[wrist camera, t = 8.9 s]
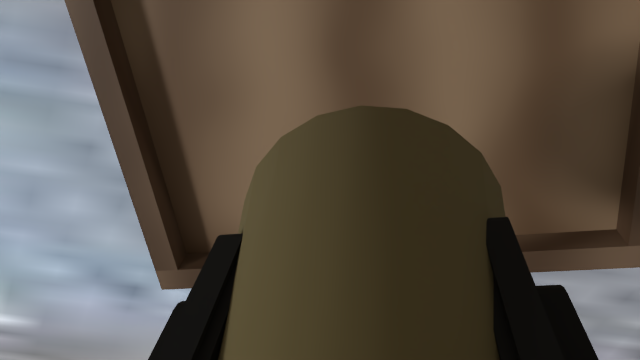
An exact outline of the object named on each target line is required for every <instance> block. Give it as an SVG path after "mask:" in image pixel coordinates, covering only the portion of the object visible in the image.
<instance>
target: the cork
mask: <svg viewBox="0 0 640 360" xmlns="http://www.w3.org/2000/svg"><path fill="white" fill-rule="evenodd" d="M495 217H506V216H505V210H504V203H503V196H502V190H501V186H500V184H499V182H498V181H497V179H496V177H495V175H494V174H493V172H492V170H491V168H490V167H489V165H488V163H487V162H486V160H485V158H484V156H483V155H482V153H481V152H480V151H479V150H478V149H476V148H475V147H474V146H473V145H472V144H470V143H469V142H468V141H467V140H466V139H464V138H463V137H462V136H461V135H460V134H458V133H457V132H456V131H455V130H454V129H452V128H451V127H450V126H449V125H447V124H444V123H441V122H439V121H436V120H434V119H431V118H429V117H426V116H424V115H421V114H419V113H416V112H414V111H411V110H408V109H403V108H389V107H375V106H362V105H360V106H356V107H352V108H347V109H343V110H339V111H334V112H330V113H326V114H321V115H317V116H315V117H314V118H312V119H310V120H309V121H307V122H305V123H304V124H302V125H300V126H299V127H297V128H295V129H293V130H292V131H290V132H288V133H287V134H285V135H283V136H282V137H281V138H280V139H279V140H278V141H277V142H276V144H275V145H274V146H273V147H272V148H271V149H270V151H269V152H268V153H267V154H266V155H265V157H264V158H263V159H262V160H261V161H260V163H259V164H258V165H257V166H256V169H255V172H254V174H253V177H252V180H251V183H250V186H249V189H248V192H247V194H246V197H245V200H244V205H243V210H242V216H241V221H240V226H239V231H238V234H241V233H243V237H242V241H241V246H240V250H239V254H238V260H237V266H236V272H235V277H234V283H233V289H232V295H231V301H230V307H229V311H228V316H227V320H226V325H225V329H224V334H223V338H222V343H221V348H220V352H219V357H218V360H500V358H499V353H498V349H497V344H496V339H495V335H494V330H493V296H494V275H493V271H492V267H491V263H490V259H489V255H488V250H487V246H486V222H487V219H488V218H495Z"/></svg>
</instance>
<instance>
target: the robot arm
mask: <svg viewBox="0 0 640 360" xmlns="http://www.w3.org/2000/svg"><path fill="white" fill-rule="evenodd" d="M242 237H243V233H241V234H226V235H219V236H218V237H217V238H216V240H215V242H214V245H213V247H212V249H211V251H210V253H209V255H208V257H207V259H206V261H205V263H204V265H203V267H202V269H201V271H200V273H199V275H198V277H197V279H196V281H195V283H194V285H193V287H192V289H191V291H190V293H189V295H188V297H187V300H186V301H182V302H180V303H178V304H177V305H176V307H175V308H174V310H173V312H172V314H171V316H170V318H169V320H168V322H167V324H166V326H165V328H164V330H163V331H162V333H161V335H160V337H159V339H158V341H157V343H156V345H155V347H154V349H153V351H152V353H151V355H150V357H149V359H148V360H218V357H219V352H220V348H221V343H222V338H223V334H224V329H225V325H226V320H227V316H228V311H229V307H230V301H231V295H232V289H233V283H234V277H235V272H236V266H237V260H238V254H239V250H240V246H241V241H242ZM486 246H487V250H488V255H489V259H490V263H491V267H492V271H493V275H494V296H493V330H494V335H495V339H496V344H497V349H498V353H499V358H500V360H598V358H597V355H596V353H595V351H594V349H593V347H592V345H591V343H590V340H589V338H588V336H587V334H586V332H585V330H584V328H583V325H582V323H581V321H580V319H579V317H578V315H577V313H576V310H575V308H574V306H573V304H572V302H571V300H570V298H569V295H568V293H567V292H566V290H565V288H564V287H563V286H561V285H546V286H535V283H534V281H533V278H532V276H531V273H530V271H529V268H528V266H527V263H526V260H525V258H524V255H523V253H522V250H521V248H520V245H519V243H518V240H517V238H516V235H515V232H514V230H513V227H512V225H511V222H510V220H509V218H508V217H495V218H488V219H487V222H486Z"/></svg>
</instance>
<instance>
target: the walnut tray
mask: <svg viewBox="0 0 640 360" xmlns="http://www.w3.org/2000/svg"><path fill="white" fill-rule="evenodd" d="M65 3H66V6H67V9H68V12H69V15H70V18H71V21H72V24H73V27H74V30H75V33H76V36H77V39H78V42H79V45H80V47H81V50H82V53H83V56H84V59H85V62H86V65H87V68H88V71H89V74H90V77H91V80H92V83H93V86H94V89H95V92H96V95H97V98H98V101H99V104H100V107H101V110H102V113H103V116H104V119H105V122H106V125H107V128H108V131H109V134H110V137H111V140H112V143H113V146H114V149H115V152H116V155H117V158H118V161H119V163H120V166H121V169H122V172H123V175H124V178H125V181H126V184H127V187H128V190H129V193H130V196H131V199H132V202H133V205H134V208H135V211H136V214H137V217H138V220H139V223H140V226H141V229H142V232H143V235H144V238H145V241H146V244H147V247H148V250H149V253H150V256H151V259H152V262H153V265H154V268H155V271H156V274H157V277H158V279H159V282H160V285H161V288H162V290H163V289H185V288H192V287H193V285H194V283H195V281H196V279H197V277H198V275H199V273H200V271H201V269H202V267H203V265H204V263H205V261H206V259H207V257H208V255H209V253H210V251H211V249H212V247H213V245H214V242H215V240H216V238H217V237H218V236H219V235H226V234H238V231H239V226H240V221H241V216H242V210H243V205H244V200H245V197H246V194H247V192H248V189H249V186H250V183H251V180H252V177H253V174H254V172H255V169H256V166H257V165H258V164H259V163H260V161H261V160H262V159H263V158H264V157H265V155H266V154H267V153H268V152H269V151H270V149H271V148H272V147H273V146H274V145H275V144H276V142H277V141H278V140H279V139H280V138H281V137H282V136H283V135H285V134H287V133H288V132H290V131H292V130H293V129H295V128H297V127H299V126H300V125H302V124H304V123H305V122H307V121H309V120H310V119H312V118H314V117H315V116H317V115H321V114H326V113H330V112H334V111H339V110H343V109H347V108H352V107H356V106H360V105H362V106H375V107H389V108H403V109H408V110H411V111H414V112H416V113H419V114H421V115H424V116H426V117H429V118H431V119H434V120H436V121H439V122H441V123H444V124H447V125H449V126H450V127H451V128H452V129H454V130H455V131H456V132H457V133H458V134H460V135H461V136H462V137H463V138H464V139H466V140H467V141H468V142H469V143H470V144H472V145H473V146H474V147H475V148H476V149H478V150H479V151H480V152H481V153H482V155H483V156H484V158H485V160H486V162H487V163H488V165H489V167H490V168H491V170H492V172H493V174H494V175H495V177H496V179H497V181H498V182H499V184H500V186H501V190H502V196H503V203H504V210H505V216H506V217H508V218H509V220H510V222H511V225H512V227H513V230H514V232H515V235H516V238H517V240H518V243H519V245H520V248H521V250H522V253H523V255H524V258H525V260H526V263H527V266H528V268H529V271H530V272H549V271H570V270H592V269H613V268H635V267H640V0H65Z"/></svg>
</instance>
